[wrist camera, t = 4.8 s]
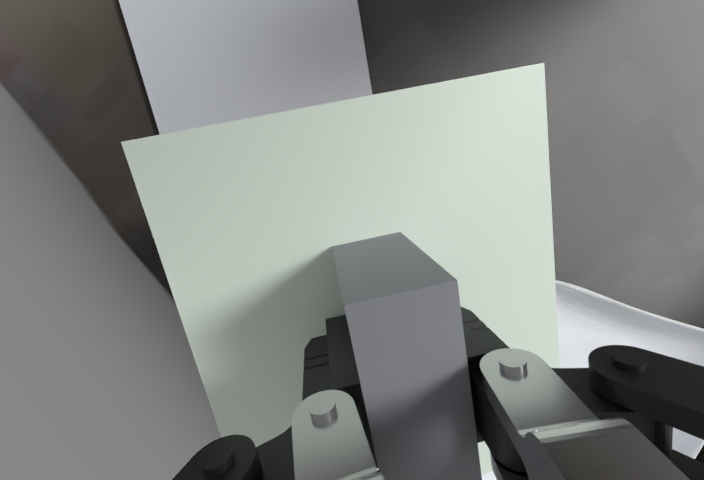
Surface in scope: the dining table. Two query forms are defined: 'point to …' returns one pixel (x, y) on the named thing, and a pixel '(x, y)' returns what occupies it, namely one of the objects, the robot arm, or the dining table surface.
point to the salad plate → (621, 339)
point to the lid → (362, 254)
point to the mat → (245, 57)
